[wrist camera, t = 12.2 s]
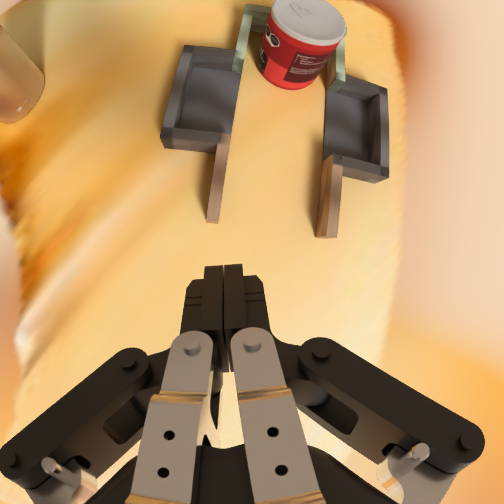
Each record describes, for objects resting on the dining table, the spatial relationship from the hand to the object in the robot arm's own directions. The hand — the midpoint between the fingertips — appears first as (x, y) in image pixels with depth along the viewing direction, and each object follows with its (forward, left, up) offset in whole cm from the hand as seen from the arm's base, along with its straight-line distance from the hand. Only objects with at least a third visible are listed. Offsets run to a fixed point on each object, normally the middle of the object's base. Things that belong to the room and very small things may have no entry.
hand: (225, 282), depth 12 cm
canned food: (-16, +20, -21) cm, 33 cm away
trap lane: (-11, +15, -20) cm, 28 cm away
